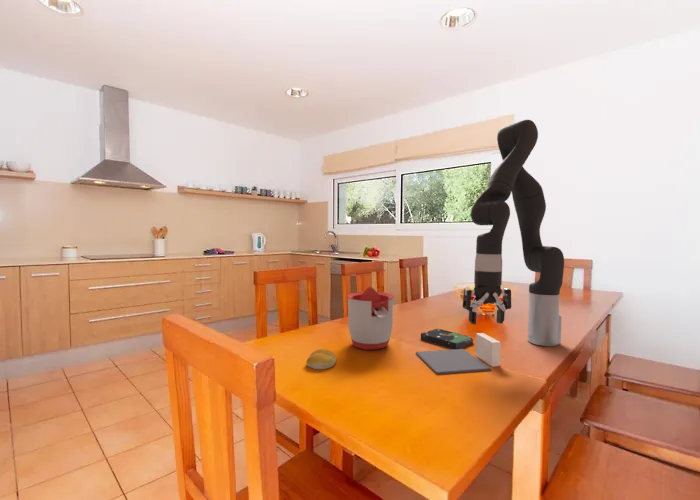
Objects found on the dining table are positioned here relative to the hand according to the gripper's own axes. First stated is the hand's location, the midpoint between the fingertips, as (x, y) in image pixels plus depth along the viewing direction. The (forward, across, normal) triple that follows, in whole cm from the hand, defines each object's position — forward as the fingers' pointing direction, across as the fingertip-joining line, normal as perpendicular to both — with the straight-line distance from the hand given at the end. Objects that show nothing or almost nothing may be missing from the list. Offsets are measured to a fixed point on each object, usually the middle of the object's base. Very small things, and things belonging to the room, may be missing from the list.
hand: (486, 323), depth 104 cm
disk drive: (+12, +4, -19) cm, 22 cm away
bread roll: (+12, +48, -5) cm, 50 cm away
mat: (+11, +10, -1) cm, 15 cm away
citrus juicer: (+12, +31, -18) cm, 38 cm away
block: (+11, 0, 0) cm, 11 cm away
